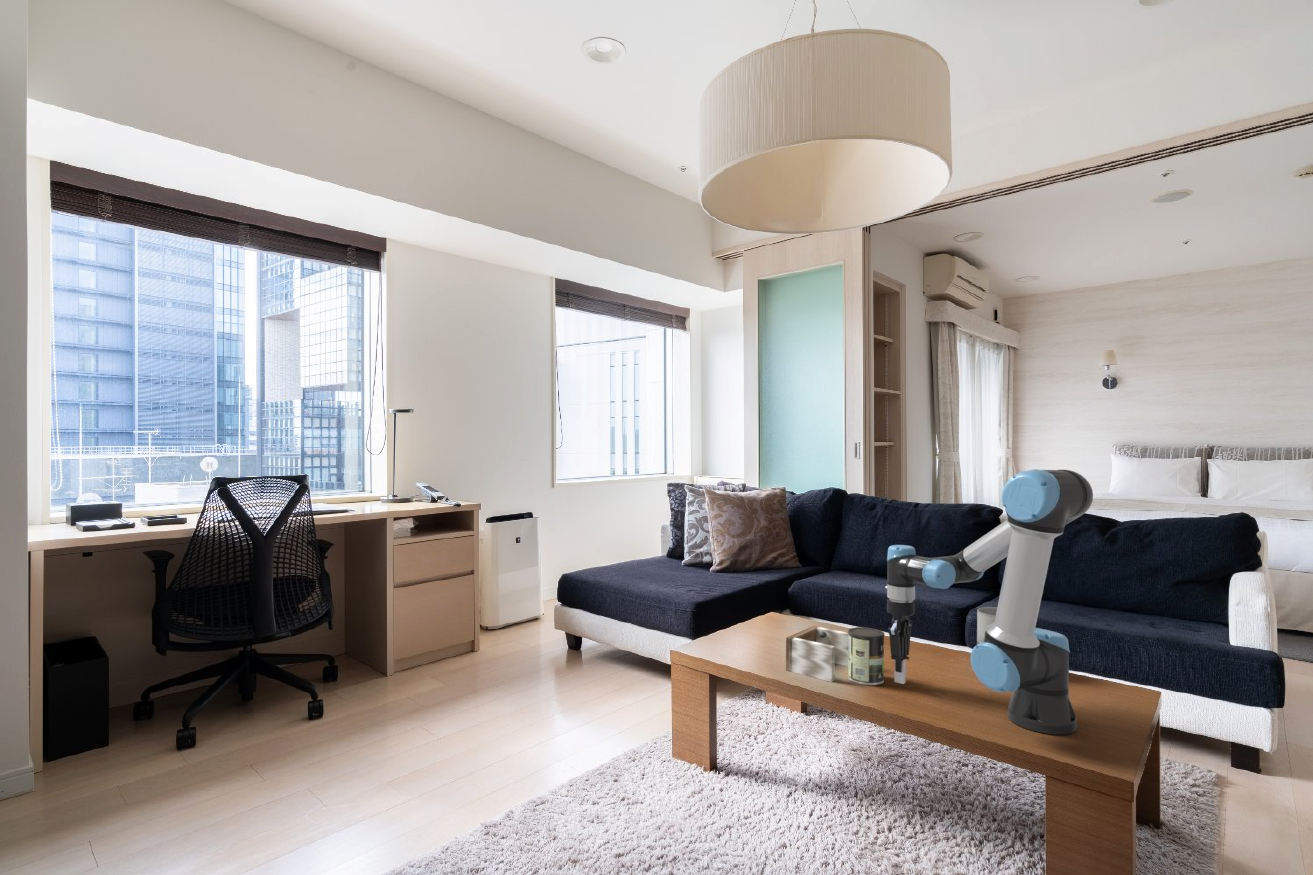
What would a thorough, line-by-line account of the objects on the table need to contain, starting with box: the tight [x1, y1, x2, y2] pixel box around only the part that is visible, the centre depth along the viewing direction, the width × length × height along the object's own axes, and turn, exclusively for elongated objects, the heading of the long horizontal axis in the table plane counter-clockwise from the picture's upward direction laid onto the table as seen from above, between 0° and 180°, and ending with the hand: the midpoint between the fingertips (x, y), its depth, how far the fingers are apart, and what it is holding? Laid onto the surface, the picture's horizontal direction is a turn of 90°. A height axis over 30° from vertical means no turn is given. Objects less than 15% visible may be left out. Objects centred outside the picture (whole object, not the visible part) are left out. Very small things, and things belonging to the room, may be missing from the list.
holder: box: [785, 625, 849, 683], centre depth 207 cm, size 15×18×10 cm
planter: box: [976, 606, 998, 645], centre depth 209 cm, size 13×13×18 cm
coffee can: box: [847, 626, 885, 686], centre depth 198 cm, size 10×10×14 cm
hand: (899, 682), depth 192 cm, fingers closed
